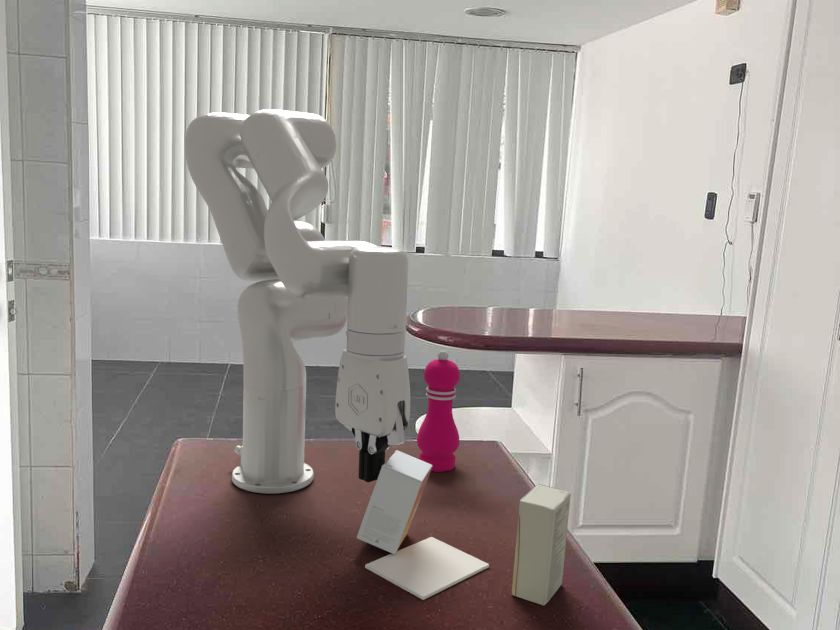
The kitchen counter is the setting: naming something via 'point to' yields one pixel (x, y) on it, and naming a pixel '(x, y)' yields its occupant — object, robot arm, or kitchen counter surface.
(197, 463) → the kitchen counter surface
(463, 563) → the mat
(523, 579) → the skincare box
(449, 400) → the pepper mill
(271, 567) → the kitchen counter surface
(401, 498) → the small box
